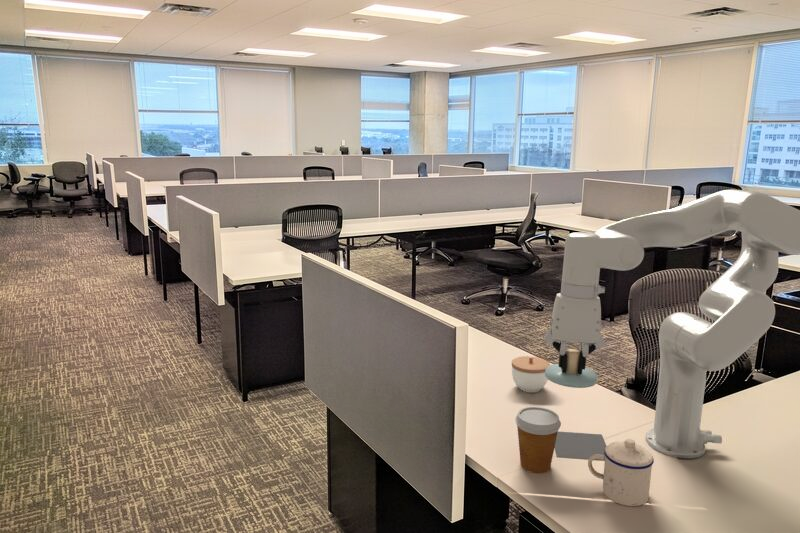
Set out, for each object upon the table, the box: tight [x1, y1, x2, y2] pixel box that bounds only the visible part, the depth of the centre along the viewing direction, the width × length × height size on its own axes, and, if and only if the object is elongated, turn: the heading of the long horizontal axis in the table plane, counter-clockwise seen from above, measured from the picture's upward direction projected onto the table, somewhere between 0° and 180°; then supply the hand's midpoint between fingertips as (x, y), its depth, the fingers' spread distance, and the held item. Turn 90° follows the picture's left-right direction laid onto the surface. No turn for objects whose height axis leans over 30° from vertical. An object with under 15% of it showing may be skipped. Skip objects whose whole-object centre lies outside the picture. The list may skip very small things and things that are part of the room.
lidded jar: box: [511, 355, 551, 393], centre depth 164 cm, size 11×11×9 cm
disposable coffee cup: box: [514, 406, 562, 474], centre depth 124 cm, size 10×10×12 cm
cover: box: [545, 348, 598, 389], centre depth 127 cm, size 11×11×6 cm
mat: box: [554, 431, 607, 462], centre depth 133 cm, size 12×12×1 cm
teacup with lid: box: [587, 438, 655, 507], centre depth 115 cm, size 12×9×12 cm
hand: (571, 370), depth 127 cm, fingers closed on cover, 2 cm apart
